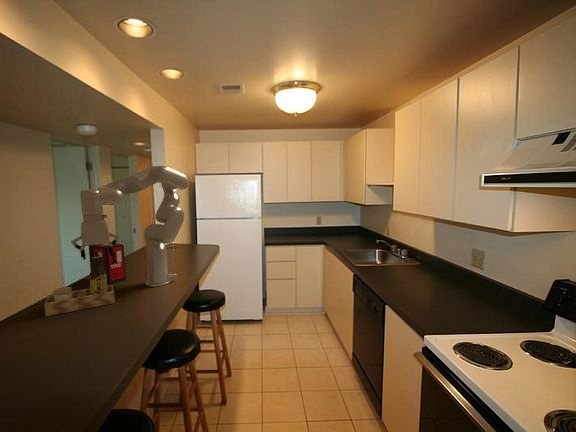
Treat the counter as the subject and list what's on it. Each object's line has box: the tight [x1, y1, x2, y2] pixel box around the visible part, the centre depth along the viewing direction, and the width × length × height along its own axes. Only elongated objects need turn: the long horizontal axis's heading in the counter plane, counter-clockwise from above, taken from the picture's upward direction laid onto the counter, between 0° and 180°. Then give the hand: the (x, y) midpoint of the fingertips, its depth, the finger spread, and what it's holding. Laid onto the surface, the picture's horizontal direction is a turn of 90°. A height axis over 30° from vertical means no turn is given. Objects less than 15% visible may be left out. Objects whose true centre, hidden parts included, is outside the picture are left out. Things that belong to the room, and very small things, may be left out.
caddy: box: [44, 284, 116, 317], centre depth 127 cm, size 24×11×6 cm, turn 123°
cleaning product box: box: [88, 242, 127, 285], centre depth 161 cm, size 16×9×20 cm, turn 63°
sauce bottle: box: [89, 256, 107, 295], centre depth 130 cm, size 6×6×20 cm
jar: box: [52, 286, 73, 302], centre depth 124 cm, size 6×6×8 cm
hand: (97, 257), depth 129 cm, fingers open, 9 cm apart
